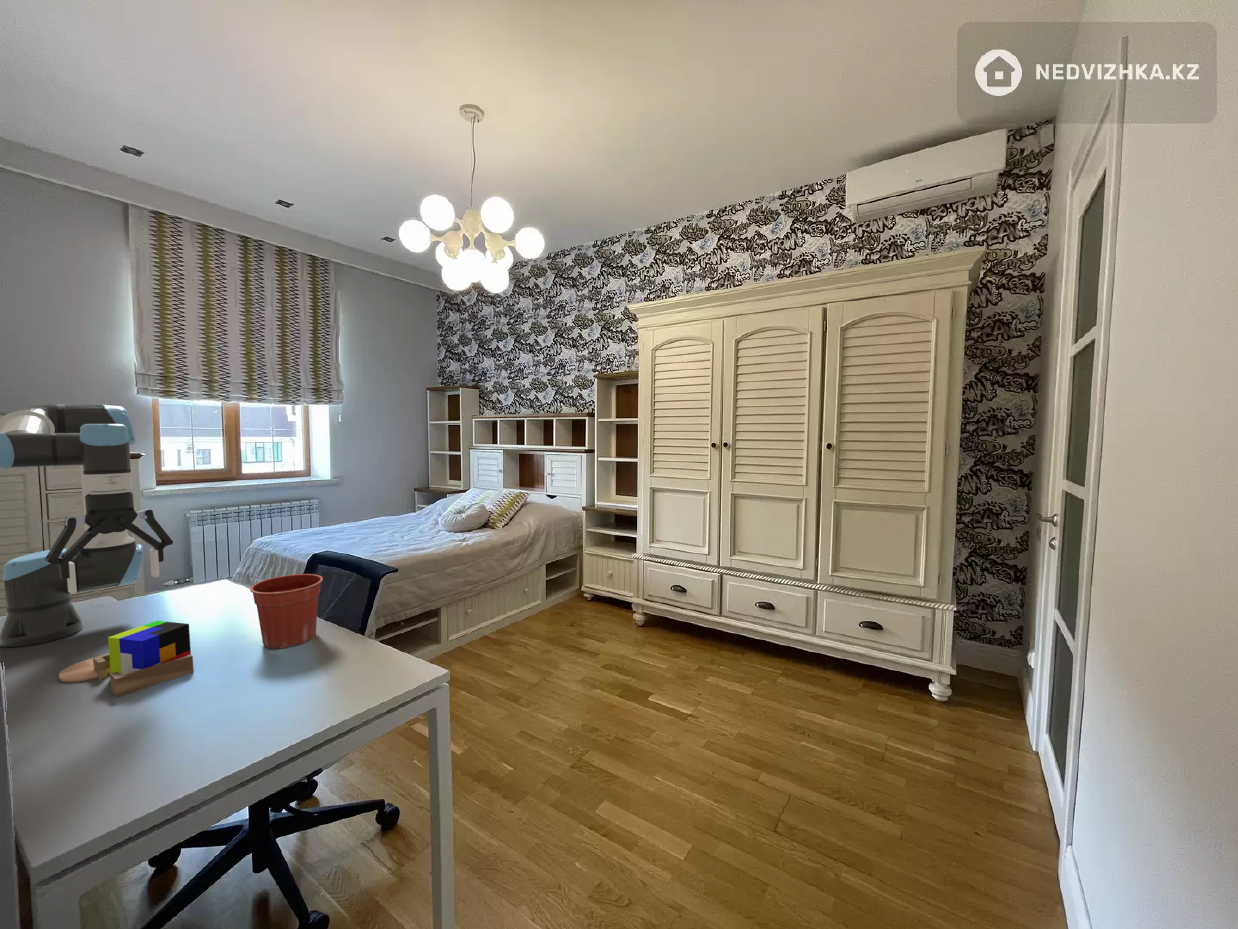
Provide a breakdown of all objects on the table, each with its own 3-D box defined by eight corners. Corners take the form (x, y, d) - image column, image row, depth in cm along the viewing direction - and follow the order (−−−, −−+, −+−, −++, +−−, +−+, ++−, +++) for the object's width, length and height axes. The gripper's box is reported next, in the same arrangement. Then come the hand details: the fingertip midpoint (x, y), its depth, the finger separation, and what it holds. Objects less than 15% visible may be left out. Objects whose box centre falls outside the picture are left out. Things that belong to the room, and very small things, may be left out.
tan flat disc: (53, 673, 115) (53, 669, 115) (124, 653, 125) (123, 649, 125) (65, 687, 109) (65, 683, 109) (139, 665, 119) (138, 661, 119)
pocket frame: (94, 674, 115) (92, 657, 115) (166, 652, 126) (165, 637, 125) (117, 697, 105) (115, 679, 105) (193, 671, 116) (192, 655, 116)
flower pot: (328, 642, 132) (326, 584, 131) (253, 659, 122) (249, 597, 121) (321, 623, 145) (319, 570, 144) (252, 637, 135) (249, 580, 134)
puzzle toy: (144, 683, 111) (141, 641, 110) (111, 679, 113) (108, 637, 112) (191, 663, 121) (188, 623, 120) (159, 659, 123) (156, 620, 122)
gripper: (27, 499, 98) (36, 603, 99) (186, 487, 119) (191, 572, 120) (19, 497, 101) (27, 597, 103) (173, 485, 123) (179, 568, 124)
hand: (116, 584), depth 112 cm, fingers open, 13 cm apart
